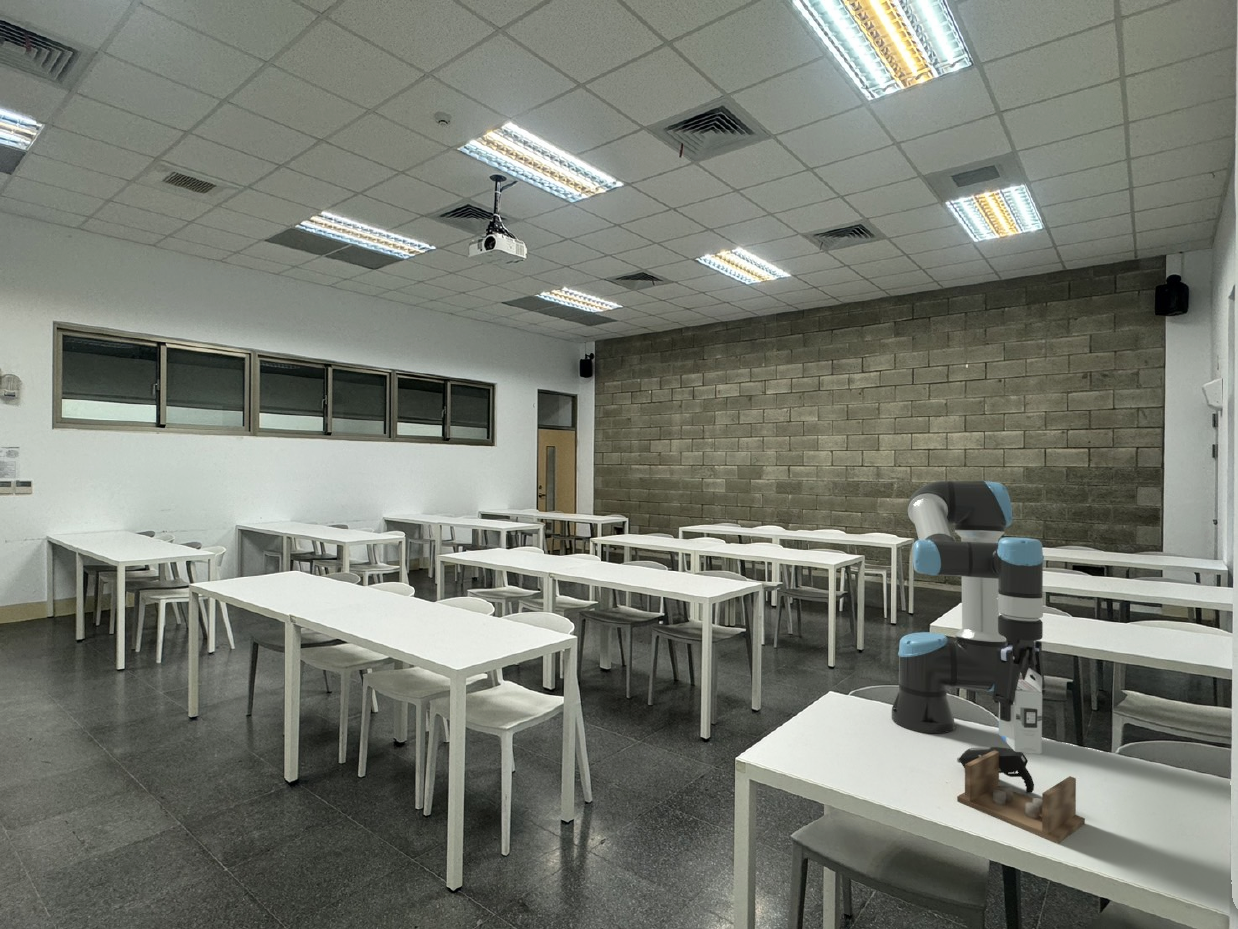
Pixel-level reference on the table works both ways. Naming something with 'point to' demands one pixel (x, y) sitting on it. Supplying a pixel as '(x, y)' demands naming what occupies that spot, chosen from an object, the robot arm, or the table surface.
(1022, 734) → the ink box
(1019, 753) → the gun
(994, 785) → the peg cradle
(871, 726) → the table surface
